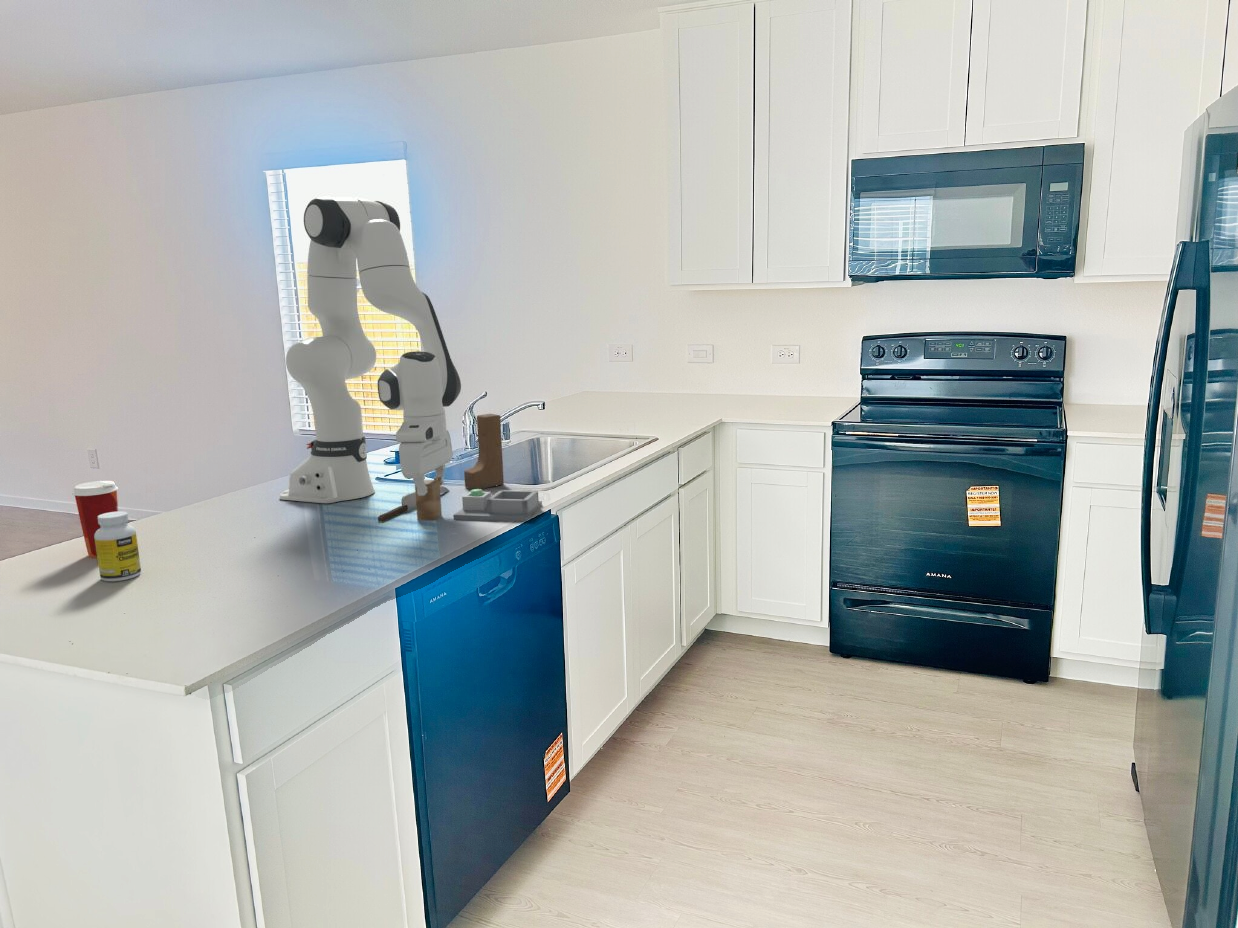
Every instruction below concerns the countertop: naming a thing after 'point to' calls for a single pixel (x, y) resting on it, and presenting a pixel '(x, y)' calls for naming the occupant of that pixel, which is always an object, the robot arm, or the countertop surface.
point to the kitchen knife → (404, 505)
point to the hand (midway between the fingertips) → (431, 489)
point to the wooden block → (487, 455)
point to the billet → (429, 501)
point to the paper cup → (94, 508)
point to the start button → (476, 492)
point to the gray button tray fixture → (499, 506)
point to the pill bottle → (117, 547)
